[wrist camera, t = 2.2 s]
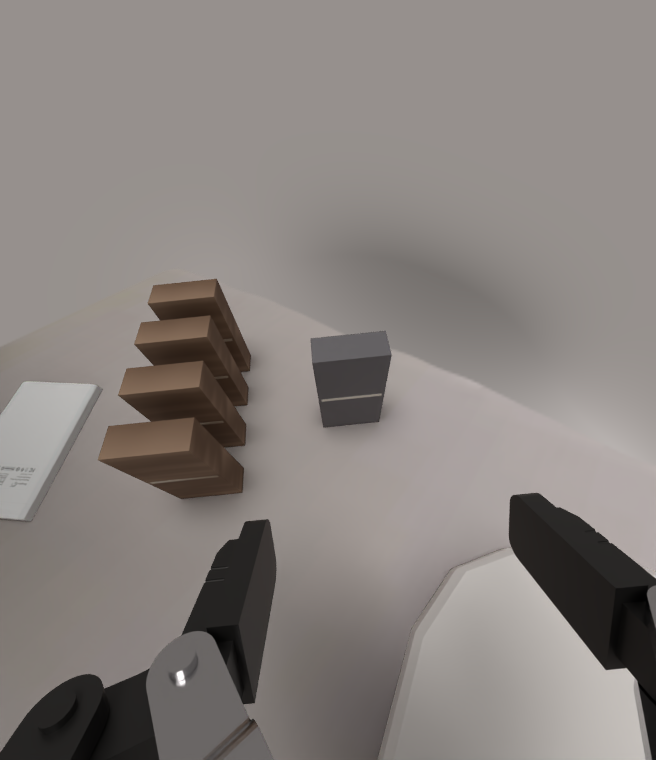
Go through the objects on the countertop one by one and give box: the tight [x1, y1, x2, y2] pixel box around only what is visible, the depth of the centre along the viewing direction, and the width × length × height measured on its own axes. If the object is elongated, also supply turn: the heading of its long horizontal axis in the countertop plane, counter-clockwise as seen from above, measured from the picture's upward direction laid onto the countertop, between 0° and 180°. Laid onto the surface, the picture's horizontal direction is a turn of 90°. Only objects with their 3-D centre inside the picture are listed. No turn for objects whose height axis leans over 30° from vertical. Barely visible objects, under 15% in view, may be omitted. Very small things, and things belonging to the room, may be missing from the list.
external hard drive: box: [0, 381, 102, 521], centre depth 29 cm, size 2×8×12 cm
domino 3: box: [118, 361, 246, 447], centre depth 24 cm, size 2×5×10 cm, turn 95°
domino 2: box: [134, 316, 248, 406], centre depth 26 cm, size 2×5×10 cm, turn 95°
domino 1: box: [148, 279, 251, 372], centre depth 28 cm, size 2×5×10 cm, turn 95°
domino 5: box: [311, 331, 391, 427], centre depth 24 cm, size 2×5×10 cm, turn 95°
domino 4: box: [98, 417, 244, 499], centre depth 22 cm, size 2×5×10 cm, turn 95°
